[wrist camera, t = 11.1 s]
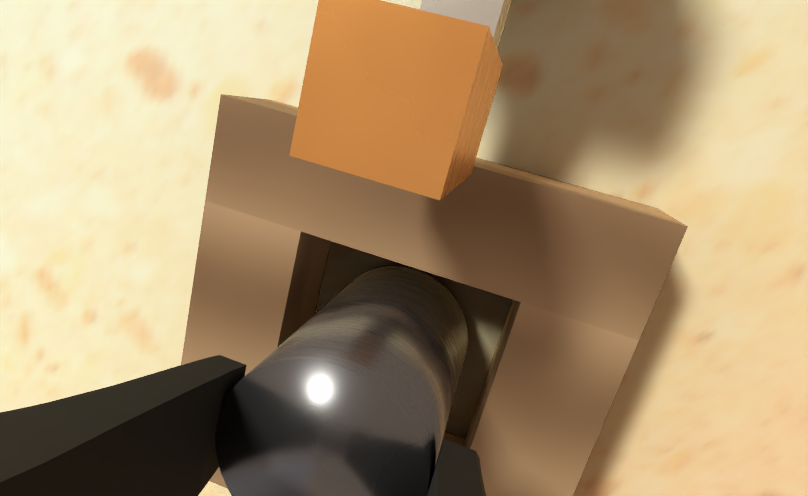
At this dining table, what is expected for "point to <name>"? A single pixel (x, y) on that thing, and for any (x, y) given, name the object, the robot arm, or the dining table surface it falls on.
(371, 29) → the lock pin
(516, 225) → the socket block
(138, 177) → the dining table surface
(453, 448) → the robot arm
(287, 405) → the dark grey short cylinder
